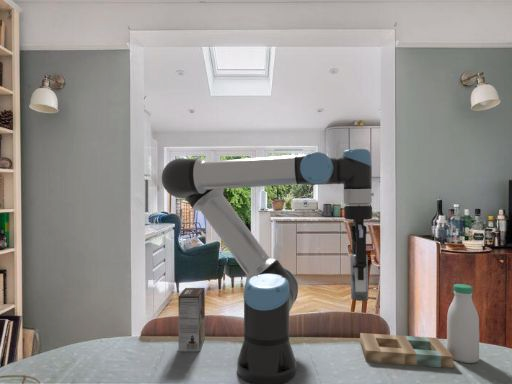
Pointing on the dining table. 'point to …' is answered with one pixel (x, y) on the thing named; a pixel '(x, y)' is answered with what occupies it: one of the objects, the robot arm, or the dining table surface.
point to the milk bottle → (463, 326)
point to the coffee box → (191, 319)
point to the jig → (405, 350)
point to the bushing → (354, 295)
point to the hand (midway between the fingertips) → (359, 288)
